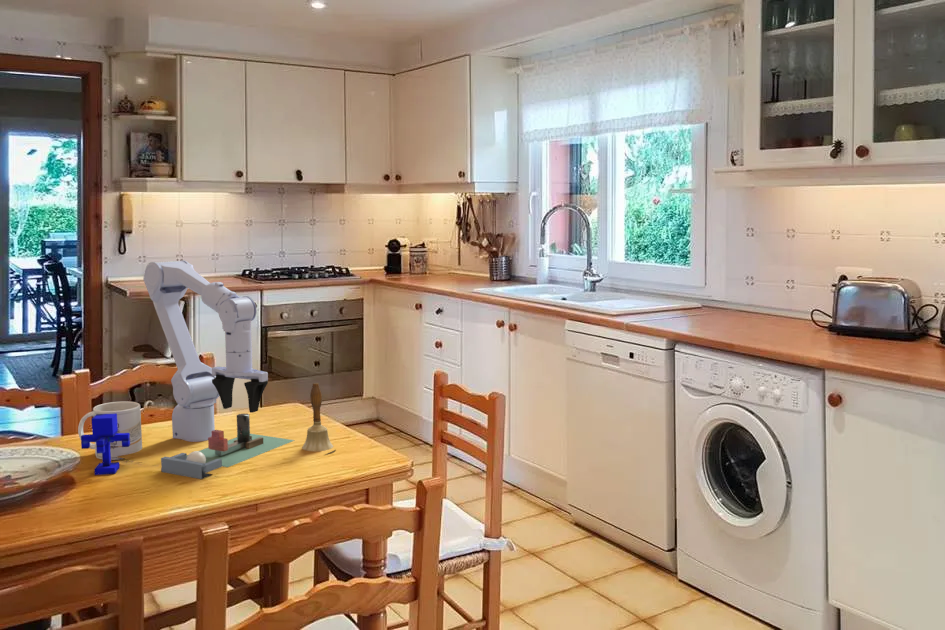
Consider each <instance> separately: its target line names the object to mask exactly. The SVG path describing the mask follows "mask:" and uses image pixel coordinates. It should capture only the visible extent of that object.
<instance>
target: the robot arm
mask: <svg viewBox="0 0 945 630" xmlns="http://www.w3.org/2000/svg"><path fill="white" fill-rule="evenodd" d="M143 273H144V274H143V277H142V278H143V282H144V285H145V288H146V290H147V293H148V294H149V299H150V300H151V301H152V303H153V306H154V307H153V308H154V309H155V312H156V315H157V317H158V320H159V322H160V326H161V329H162V330H163V333H164V335H165V339H166V341H167V344H168V347H169V349H170V352H171V354H172V357H173V360H174V362H175V365H176V368H177V370H176V371H175V373H174V374H173V376H172V378H171V379H170V382H171V385H172V395H173V398H174V401H176V404H177V405H175V407H174V408H173V409H172V415H171V425H172V426H171V428H172V429H171V430H172V431H171V432H172V439H177V440H183V441H186V442H192V443H193V442H194V443H195V442H205V441H208V437H211V436H212V434H211V431H213V430H216V429H215V428H216V427H215V404H217V399H219V398H220V401H221V404H222V408H223V409H224V410H226V409H230V408H233V407H232V406H233V392H234V391H233V389H234V383H235V380H236V379H240V380H250V381H246V382H244V383H243V385H244V387H245V390H246V393H247V399H248V400H247V401H248V411H249V413H250V414H251V413H256V412H258V411H259V407H260V403H261V399H262V395H263V393H264V391H265V389H266V387H267V386H268V383H269V377H268V376H269V373H268V372H267V371H263V370H258V369H255V368H253V345H252V344H253V343H252V342H253V341H252V340H253V339H252V337H253V336H252V321H253V320H254V319H255V318H256V317H257V305H256V303H255V301H254V300H253V299H252V298H251V297H250V296H249V295H243V296H241V295H240V296H239V295H238V294H237V292H235V291H232V290H230V289H229V288H227V287H226V286H224V283H223V282H222V281H213V282H210V281H208V280H207V279H206V278H205V277H204V276H202V275H201V274H199V272H198V271H196V270H195V268H194V264H192V263H189V261H187V260H185V259H182V260H178V261H177V260H175V261H160V262H159V261H157V262H156V261H151V262H148V264H147V265H146V267H145V270H144V272H143ZM188 289H189V290H191V291H193V292H194V293H195V294H197V295H199V296H201V297H200V298H201V301H202V303H203V304H205V305H206V306H207V307H209V308H210V309H212V310H213V311H214V312H216V313H217V314H218V317H219V319H220V321H221V324H222V329H223V332H225V333H224V336H225V337H224V338H225V339H224V340H225V343H224V344H225V345H224V346H225V366H214V367H211V366H209V365H207V364H205V363H203V362H201V360H200V357H199V355H198V353H197V349H196V346H195V344H194V342H193V341H194V340H193V339H192V337H191V334H190V333H191V332H190V330H189V329H188V326H187V323H186V320H185V318H184V315H183V312H182V310H181V308H180V305H179V301H180V300H181V299H182V298H183V297H184V296H185V294H186V293H187V290H188Z"/></svg>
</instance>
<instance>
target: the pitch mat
mask: <svg viewBox="0 0 945 630" xmlns="http://www.w3.org/2000/svg"><path fill="white" fill-rule="evenodd" d="M250 436H252V440H254V439H256V438H259V437H262V438H263V444H261V445H259V446H256V447H253V448H251V449H246V447H244V448H241V449H238V450H236V451H233V452H230V453H228V454H225V455H223V456H218V455H215V450H211V449H209V448H208V447H206V448H205V447H204V448H202V449H200V450H198V451H199V452H202V453H203V454H204V455H205V458H206V463H208V462H210V461H213V460H215V459H222V467H223V468H230V467H233V466H235V465H237V464H240V463H243V462H245V461H247V460H250V459H253V458H254V457H258V456H260V455H262V454H264V453H267V452H270V451H272V450H275V449H277V448H280V447H282V446H285V445H287V444H289V443H292V442H295V440H294V439H288V438H281V437H276V436H268V435H263V434H258V433H257V434H255V433H250ZM227 440H228V445H229V444H231V443H234V440H237V436H236V437H234V438H231V439H227ZM188 455H189V454H187V456H188Z"/></svg>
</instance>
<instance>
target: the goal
mask: <svg viewBox="0 0 945 630" xmlns="http://www.w3.org/2000/svg"><path fill="white" fill-rule="evenodd" d="M187 455H188V454H187V452H180V453H178V454H175V455H172V456H162V457H161V458H160V464H161V466H160V467H161V473H166V474H170V475H171V474H172V475H177V476H183V477H189V478H194V479H198V480H203V479H205V478H208V477H210V476H212V475H213V473H210V472H212V471H214V470H217V469H219V468H222V467H223V466H222V459H215V460H213V461H210V462H208V463H199V462H194V461H188V460H186V459H187Z"/></svg>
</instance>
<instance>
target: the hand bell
mask: <svg viewBox="0 0 945 630" xmlns="http://www.w3.org/2000/svg"><path fill="white" fill-rule="evenodd" d="M320 387H321V386H320V385H319V382H313V383H312V387H311V391H310V393H309V394H310V404H311V406H312V411H313V412H312V415H313V416H312V417H313V421H312V422H313V424H312V426H309V427H308V428H307V432H306V438H305V442H304V444H303V445H302V446H301V449H302V450H304V451H307V452H325V451H329V450H331V449H333V448H334V445H333V443H332V442H331V440H330V437H329V434H328V433H329V432H328V428H327V427H326V426H325V425H322V421H321V420H322V419H321V406H322V402H323V395H322V394H323V393H322V391H321V388H320ZM336 451H337V450H336V449H334V450H331V451H330V452H328V453H325V454H324V456H328V455H331V454H333V453H335V452H336Z"/></svg>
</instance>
